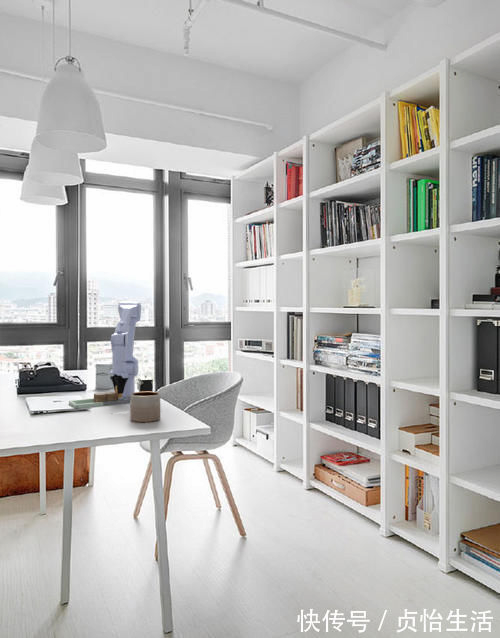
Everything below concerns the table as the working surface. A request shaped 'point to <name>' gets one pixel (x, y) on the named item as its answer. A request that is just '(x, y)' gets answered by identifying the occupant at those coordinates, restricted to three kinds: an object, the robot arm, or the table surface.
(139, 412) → the planter
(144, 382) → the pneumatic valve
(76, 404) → the tray
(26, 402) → the table surface
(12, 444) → the table surface
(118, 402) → the slot bed
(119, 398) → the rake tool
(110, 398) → the chip
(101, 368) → the supplement box
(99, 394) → the chip
